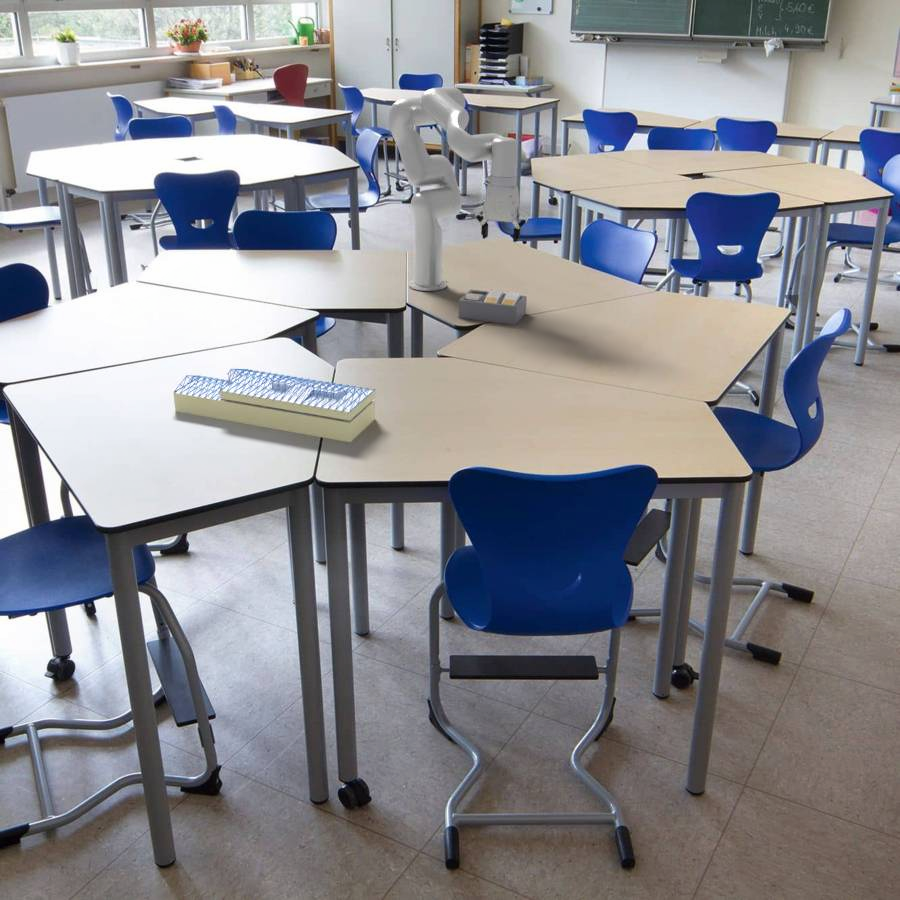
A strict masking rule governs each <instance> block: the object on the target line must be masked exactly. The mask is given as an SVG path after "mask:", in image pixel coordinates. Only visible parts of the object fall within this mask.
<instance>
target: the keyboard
mask: <svg viewBox="0 0 900 900" xmlns="http://www.w3.org/2000/svg"><path fill="white" fill-rule="evenodd" d="M236 373H237V374H236ZM226 374H227V376H228V379H226V380H225V379H224V378H223V379H219V378H217V377H215V378H214V377H210V376H209V377H208V376H201V375H186V376H184V378H183V379H182V381H181V382H180V383H179V384H178V386H177V387H176V389H175V390H174V391H173V401H174V402H173V403H174V410H175V412H178V413H184V414H190V415H193V416H194V415H195V416H200V417H205V418H212V419H217V420H223V421H228V422H234V423H239V424H246V425H249V426H250V425H251V426H257V427H262V428H268V429H273V430H278V431H283V432H284V431H285V432H289V433H295V434H301V435H306V436H312V437H317V438H324V439H330V440H334V441H339V442H340V441H341V442H347V443H352V442H353V441H354V440H355V439H356V438H357V437H358V436H359V435H360V434H361V433H362V432H363V431H364V430H366V428H367V427H368V426H370V424H372V422H374V421H375V420H376V400H375V399H376V389H371V388H368V387H367V388H363V386H359V387H358V386H357V387H356V386H353V385H352V386H351V385H349V384H345V385H344V384H343V383H336V382H329V381H323V380H317V379H310V378H304V377H297V376H291V375H285V374H278V373H272V372H266V371H259V370H254V369H249V368H230V369H229V371H228V372H227V373H226ZM235 375H236V376H235ZM231 377H232V378H231ZM187 378H188V379H189V380H188V382H187V383H186V380H187ZM183 381H184V382H183ZM182 383H183V385H182ZM180 386H181V387H180Z"/></svg>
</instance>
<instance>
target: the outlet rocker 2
mask: <svg viewBox="0 0 900 900" xmlns="http://www.w3.org/2000/svg"><path fill="white" fill-rule="evenodd" d="M488 292H489V293H488V295H487V296H486V298H485V300H484V302H489V303H497V302H498V301H499V300H500V299H501V298H502V296H503V293H504V291H503V290H498V289H489V291H488Z"/></svg>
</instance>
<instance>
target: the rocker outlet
mask: <svg viewBox="0 0 900 900" xmlns="http://www.w3.org/2000/svg"><path fill="white" fill-rule="evenodd" d="M505 294H506V295H505V297H504V299H503V301H502V303H501V304H505V305H515V304H516V303H517V302H518V301H519V299H520V295H521V293H520V292H514V291H507V292H506V293H505Z"/></svg>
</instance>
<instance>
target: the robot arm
mask: <svg viewBox="0 0 900 900" xmlns="http://www.w3.org/2000/svg"><path fill="white" fill-rule="evenodd" d="M465 107H466V98H465V94H464V93H463V92H462V91H461V90H460V89H459V88H458V87H455V86H445V87H444V86H442V87H432V88H430V89H427V90H425V91H424V92H423V93H422V95H421V97H407V98H402V99H399V100H396V101H395V102H394V103H393V104H392V105H391V106H390V109H389V111H388V128H389V130H390V133H391V136H392V137H393V139H394V141H395V144H396V146H397V149H398V152H399V154H400V159H401V162H402V165H403V168H404V169H403V170H404V173H405V177H406V179H407V182H408V184H410V186H411V187H413V188H424V187H431V186H434V187H435V188H430V189H425V190H421V191H418V192H417V193H415V194H414V195H413V196H412V198H411V201H410V211H411V215H412V223H413V225H412V226H413V279H411V280H409V281H408V287H409V288H410V289H413V290H417V291H423V292H434V291H435V292H436V291H440V290H444V289H446V287H447V284H448V283H447V282H446V281H445V280H444V279H443V274H444V271H443V251H444V250H443V241H444V240H443V237H444V236H443V235H444V234H443V229H442V227H441V226H440V223H439V221H438V220H440V219H444V218H450V217H454V216H456V215H458V214H459V213H460V211H461V209H462V207H463V206H462V203H463V202H462V195H461V192H460V191H461V190H460V189H459V184H458V181H457V178H456V175H455V172H454V169H453V166H452V163H451V162H450V160H449V159H448V158H447V157H446V156H444V155H442V154H431V155H430V154H429V153H428V150H427V148H426V144H425V141H424V140H423V137H422V136H421V135H420V134H419V132H417V131H416V130H415V129H414V127H419V126H420V127H421V126H431V125H432V126H433V125H436V124H437V125H439V127H441V128H442V129H443V130H444V131H445V132H446V140H447V143H448V146H449V147H450V149H451V150H452V151H453V152H454V153H455V154H457V156H459V157H461V159H463V160H464V161H466V162H470V163H477V162H484V161H490V162H491V163H490V174H489V175H486V176H485V177H486V178H485V180H486V181H487V182H489V184H488V185H487V187H486V191H485V197H484V201H483V202H484V203H483V204H481V205H480V206H478V207H474V209H473V213H474V215H475V216H476V219H477V221H478V222H479V224H480V226H481V229H480V231H481V232H480V233H481V236H482V239H486V238H488V236H489V223H488V221H491V222H499V223H512V225H513V226H514V228H513V237H512V241H513V243H517V242H518V241H519V240H520V238H521V228H522V227H523V226H524V225H525V224H527V222H528V220H529V218H530V217H531V214H530V213H529V212H528V211H526V210H525V209H523V208H521V207H520V193H519V188H518V186H516V185H517V167H518V149H519V148H518V147H519V142H518V140H517V139H516V138H513V137H506V136H503V135H501V134H499V133H495V132H493V133H492V132H490V133H481V134H469V133H468V132H467V131H466V130H465V129H466V128H467V126H468V125H469V121H470V115H469V112H468V110H466V109H465ZM481 211H482V212H483V215H482V214H481ZM520 215H521V216H523V218H522V220H520V219H519V217H520Z"/></svg>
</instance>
